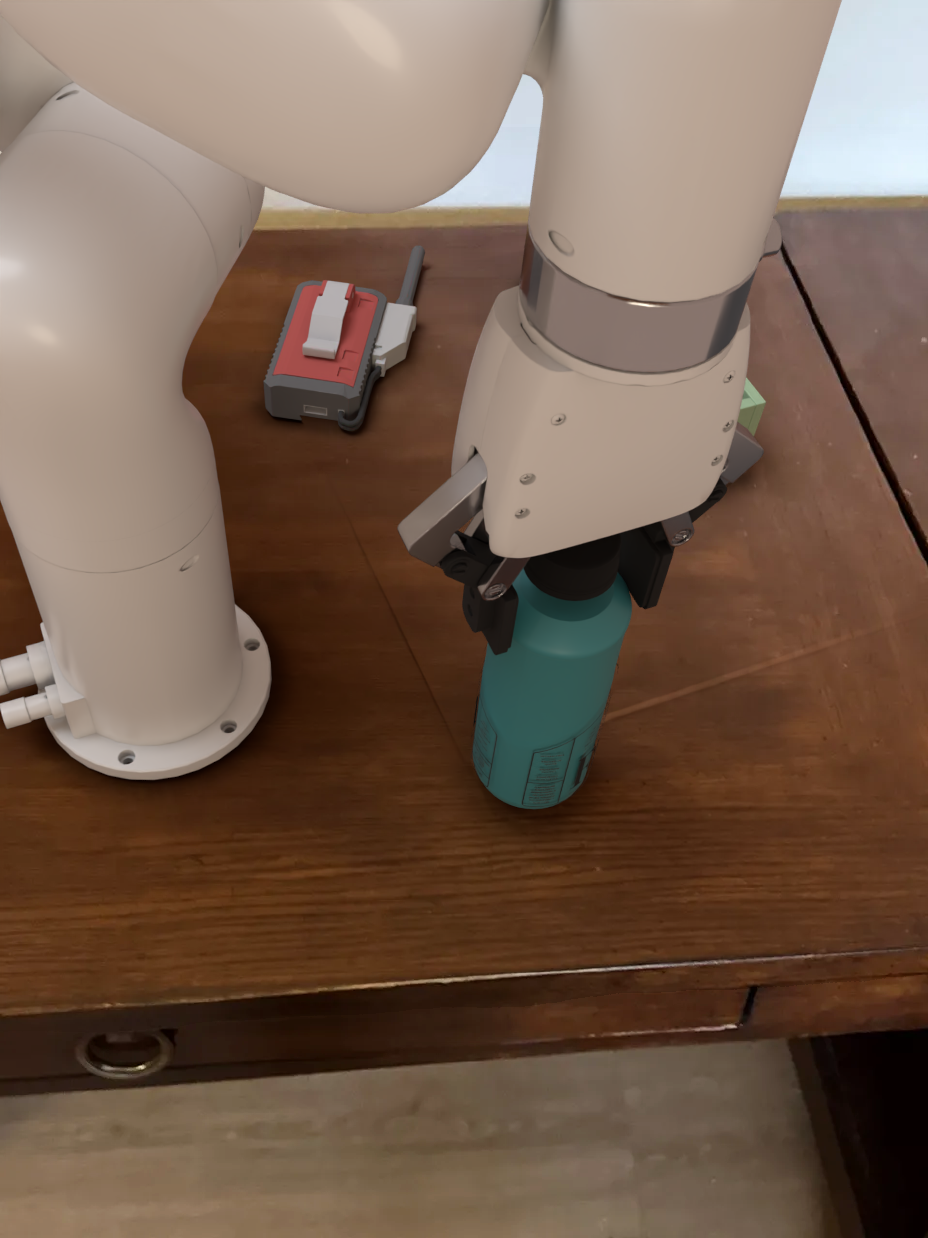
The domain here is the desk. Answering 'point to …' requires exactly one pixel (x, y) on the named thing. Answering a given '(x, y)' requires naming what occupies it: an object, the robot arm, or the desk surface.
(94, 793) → the desk surface
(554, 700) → the beverage bottle
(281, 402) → the walkie-talkie
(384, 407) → the desk surface
